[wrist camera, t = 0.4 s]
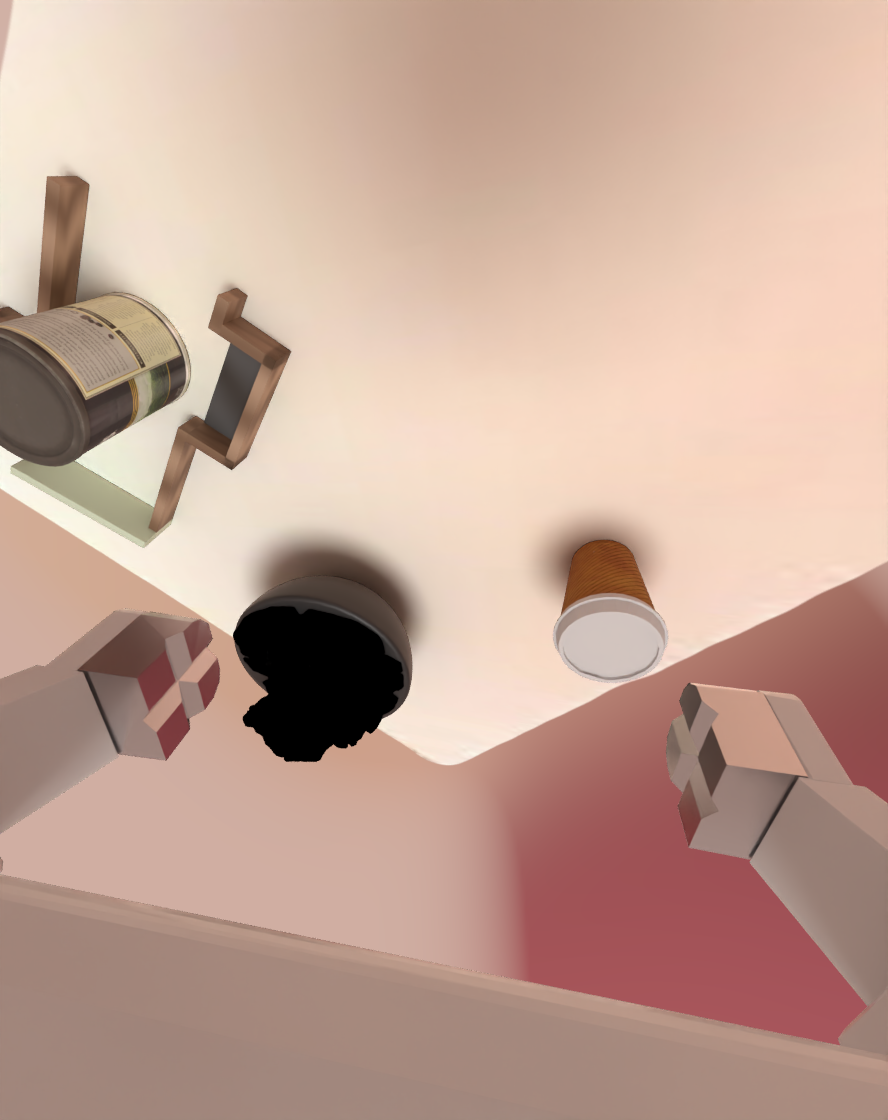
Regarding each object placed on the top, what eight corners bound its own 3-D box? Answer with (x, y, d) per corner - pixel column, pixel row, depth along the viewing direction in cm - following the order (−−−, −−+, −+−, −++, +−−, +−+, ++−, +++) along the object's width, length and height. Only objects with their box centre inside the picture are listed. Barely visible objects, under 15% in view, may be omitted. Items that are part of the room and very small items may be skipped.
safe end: (48, 446, 58) (10, 466, 54) (172, 518, 61) (145, 542, 57) (48, 452, 58) (10, 472, 54) (170, 524, 61) (143, 548, 57)
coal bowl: (268, 629, 70) (187, 752, 55) (283, 514, 57) (184, 633, 42) (406, 680, 70) (363, 814, 56) (451, 577, 58) (411, 716, 43)
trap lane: (14, 132, 40) (-21, 129, 37) (299, 332, 45) (284, 340, 42) (4, 420, 57) (-20, 431, 54) (211, 541, 62) (196, 556, 59)
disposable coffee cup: (536, 559, 54) (530, 640, 45) (613, 508, 49) (623, 588, 40) (593, 612, 57) (598, 699, 48) (671, 570, 52) (694, 658, 42)
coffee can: (206, 406, 51) (105, 470, 40) (116, 402, 53) (-4, 464, 42) (169, 290, 45) (38, 328, 34) (68, 291, 47) (-88, 328, 35)
